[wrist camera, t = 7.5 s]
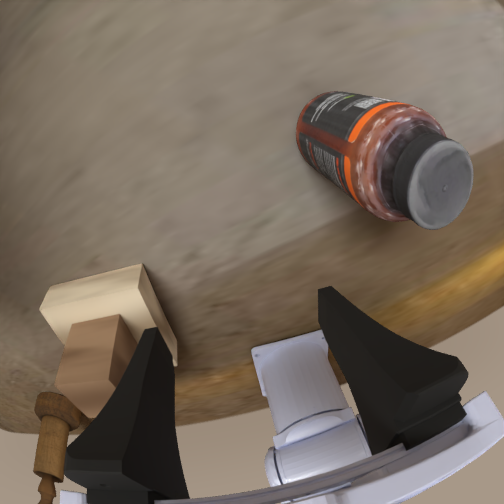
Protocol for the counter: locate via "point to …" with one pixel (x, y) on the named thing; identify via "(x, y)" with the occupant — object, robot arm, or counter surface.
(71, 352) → the walnut block
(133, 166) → the counter surface
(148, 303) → the birch base block
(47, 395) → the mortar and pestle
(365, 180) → the supplement bottle
